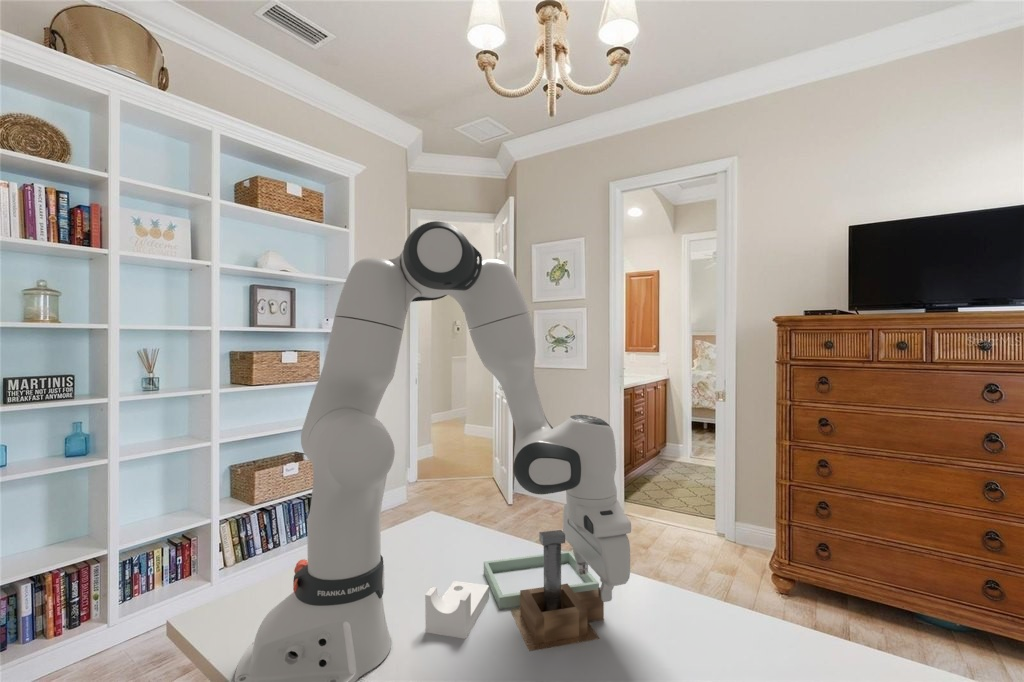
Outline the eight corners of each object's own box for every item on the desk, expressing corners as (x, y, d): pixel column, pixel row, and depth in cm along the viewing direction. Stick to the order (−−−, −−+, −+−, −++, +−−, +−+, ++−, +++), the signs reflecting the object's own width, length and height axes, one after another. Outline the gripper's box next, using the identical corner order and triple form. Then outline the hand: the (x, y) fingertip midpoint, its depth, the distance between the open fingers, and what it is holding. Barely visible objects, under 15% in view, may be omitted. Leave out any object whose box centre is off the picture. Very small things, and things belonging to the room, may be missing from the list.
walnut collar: (535, 643, 77) (535, 618, 77) (520, 612, 86) (520, 590, 86) (612, 630, 81) (612, 606, 81) (590, 601, 89) (590, 580, 89)
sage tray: (499, 614, 87) (499, 597, 87) (483, 575, 101) (483, 561, 101) (599, 598, 92) (599, 583, 92) (570, 564, 106) (570, 550, 106)
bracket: (465, 646, 79) (465, 600, 78) (425, 640, 80) (425, 594, 80) (489, 604, 91) (489, 564, 91) (454, 599, 93) (454, 560, 93)
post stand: (529, 657, 75) (528, 552, 75) (510, 614, 87) (509, 523, 87) (599, 644, 78) (599, 543, 78) (572, 605, 90) (571, 517, 90)
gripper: (554, 491, 94) (555, 561, 94) (600, 532, 74) (602, 620, 74) (584, 487, 96) (585, 556, 96) (637, 527, 76) (638, 613, 76)
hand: (593, 585), depth 85 cm, fingers open, 8 cm apart
